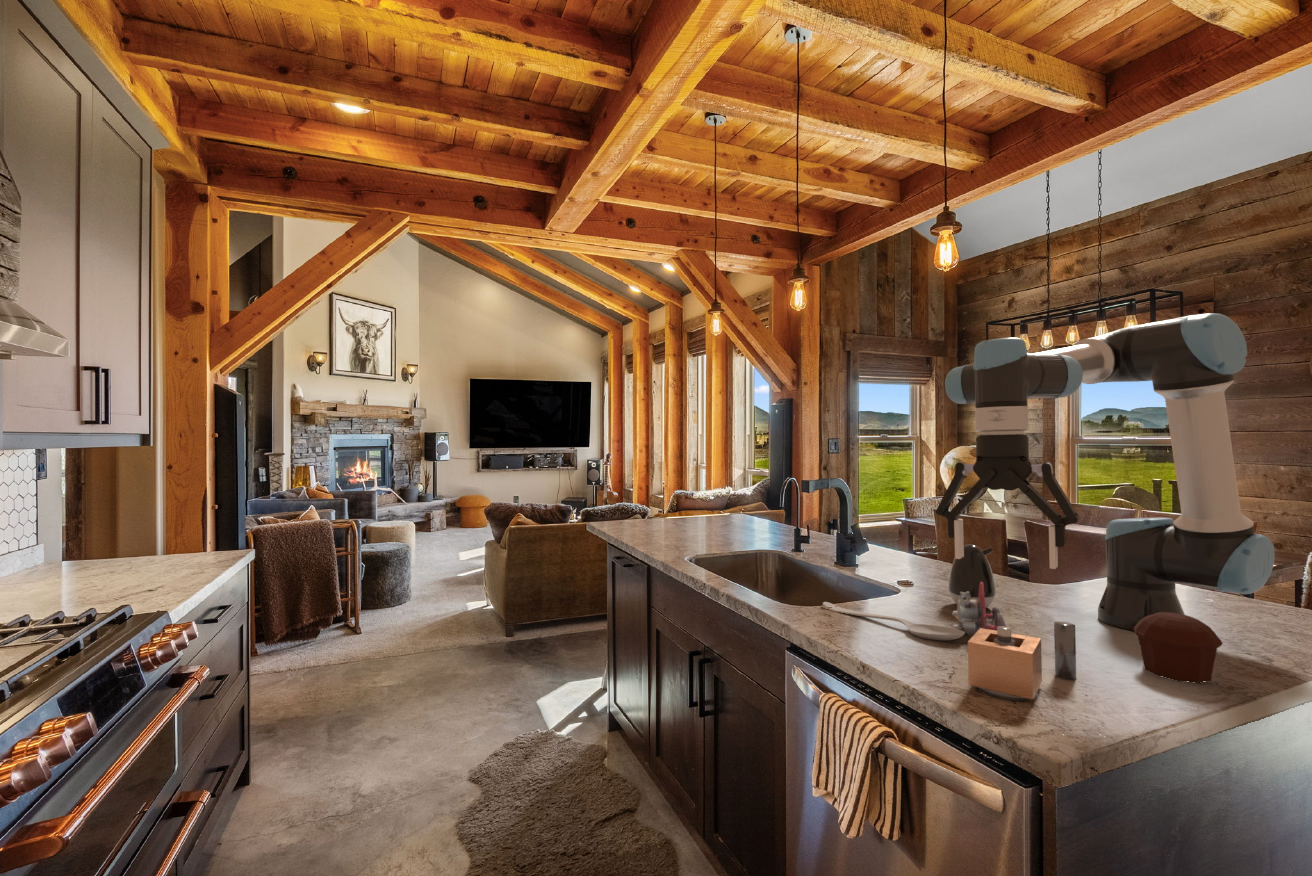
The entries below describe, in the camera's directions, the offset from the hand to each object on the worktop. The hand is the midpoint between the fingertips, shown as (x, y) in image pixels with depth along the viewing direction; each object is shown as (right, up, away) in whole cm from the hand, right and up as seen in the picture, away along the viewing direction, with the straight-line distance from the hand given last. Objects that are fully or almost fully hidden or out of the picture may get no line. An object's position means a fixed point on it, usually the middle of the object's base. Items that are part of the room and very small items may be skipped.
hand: (1004, 562), depth 98 cm
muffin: (+33, -21, +5) cm, 39 cm away
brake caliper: (+11, -21, +27) cm, 36 cm away
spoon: (-6, -22, +35) cm, 42 cm away
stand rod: (+13, -21, +4) cm, 25 cm away
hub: (0, -21, 0) cm, 21 cm away
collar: (0, -20, 0) cm, 20 cm away
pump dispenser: (+20, -21, +47) cm, 55 cm away
